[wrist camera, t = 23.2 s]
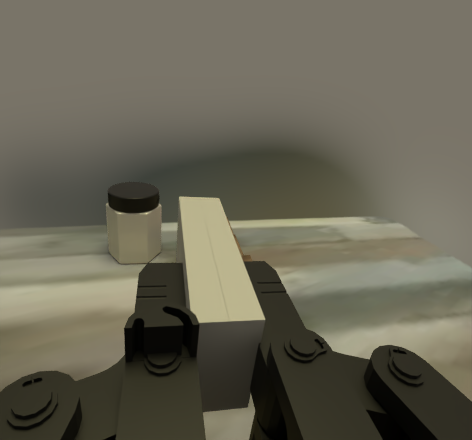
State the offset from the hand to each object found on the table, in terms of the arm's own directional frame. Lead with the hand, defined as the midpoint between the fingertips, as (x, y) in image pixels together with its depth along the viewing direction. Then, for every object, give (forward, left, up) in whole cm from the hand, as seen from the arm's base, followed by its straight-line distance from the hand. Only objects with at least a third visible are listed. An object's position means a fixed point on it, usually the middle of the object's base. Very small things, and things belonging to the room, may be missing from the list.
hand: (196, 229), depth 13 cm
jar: (-7, +42, -26) cm, 50 cm away
